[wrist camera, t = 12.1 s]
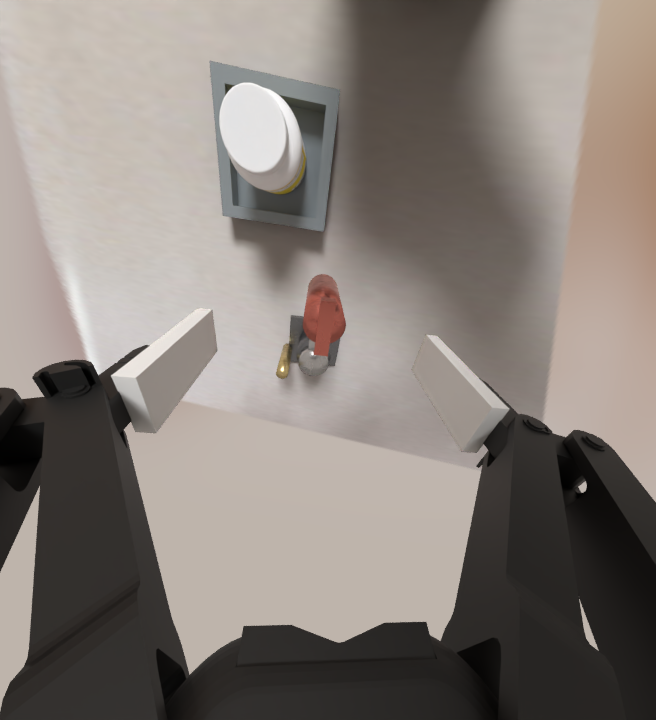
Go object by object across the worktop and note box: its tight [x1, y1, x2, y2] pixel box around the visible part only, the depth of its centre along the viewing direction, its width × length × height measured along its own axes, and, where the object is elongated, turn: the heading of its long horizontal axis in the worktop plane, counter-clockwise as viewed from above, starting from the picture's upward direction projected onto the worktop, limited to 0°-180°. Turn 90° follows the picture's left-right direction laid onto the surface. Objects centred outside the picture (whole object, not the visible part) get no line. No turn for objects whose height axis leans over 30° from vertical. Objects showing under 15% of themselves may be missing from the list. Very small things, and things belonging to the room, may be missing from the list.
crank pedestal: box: [276, 315, 340, 379], centre depth 30 cm, size 7×8×6 cm
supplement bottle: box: [219, 83, 307, 195], centre depth 18 cm, size 5×5×10 cm
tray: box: [210, 61, 340, 232], centre depth 22 cm, size 10×10×2 cm
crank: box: [299, 274, 346, 376], centre depth 22 cm, size 13×4×11 cm, turn 172°
